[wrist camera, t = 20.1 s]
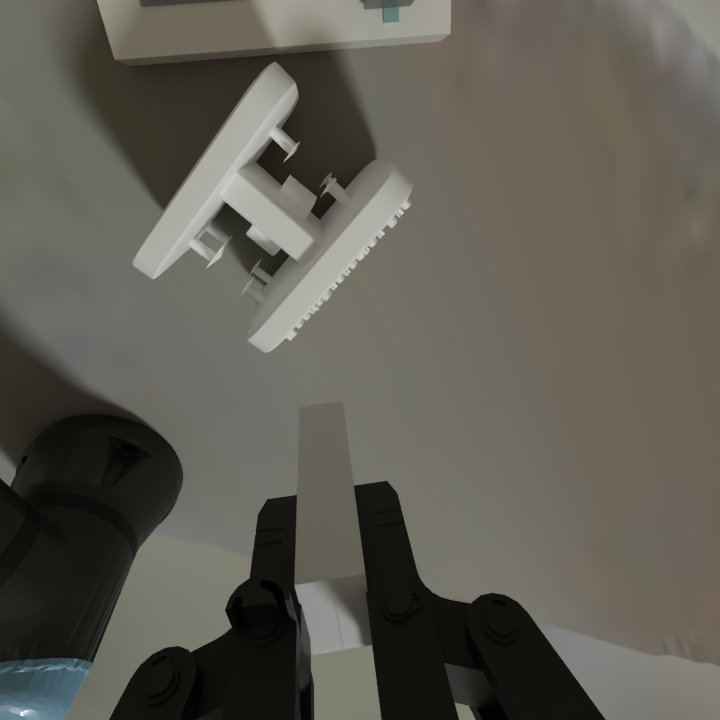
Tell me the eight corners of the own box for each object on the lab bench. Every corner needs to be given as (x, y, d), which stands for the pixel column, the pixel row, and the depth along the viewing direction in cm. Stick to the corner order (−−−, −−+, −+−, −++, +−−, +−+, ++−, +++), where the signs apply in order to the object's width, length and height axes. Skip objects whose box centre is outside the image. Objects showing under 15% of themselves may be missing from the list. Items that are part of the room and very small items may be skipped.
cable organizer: (289, 71, 30) (279, 34, 20) (391, 178, 34) (427, 194, 24) (175, 231, 34) (118, 269, 24) (278, 309, 38) (268, 370, 28)
